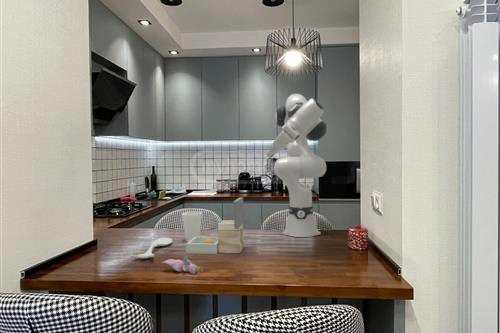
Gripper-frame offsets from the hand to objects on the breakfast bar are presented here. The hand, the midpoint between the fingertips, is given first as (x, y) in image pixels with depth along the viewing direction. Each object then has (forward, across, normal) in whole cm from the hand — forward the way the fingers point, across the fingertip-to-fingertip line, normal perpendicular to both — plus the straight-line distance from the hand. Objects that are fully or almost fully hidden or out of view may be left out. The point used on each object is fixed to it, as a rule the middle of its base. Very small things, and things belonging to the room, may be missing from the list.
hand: (268, 156), depth 144 cm
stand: (+40, +1, +16) cm, 43 cm away
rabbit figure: (+48, +30, +8) cm, 57 cm away
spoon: (+63, +5, -7) cm, 64 cm away
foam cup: (+56, -16, 0) cm, 58 cm away
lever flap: (+33, +1, +9) cm, 35 cm away
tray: (+48, +1, +8) cm, 48 cm away
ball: (+45, +1, +7) cm, 45 cm away
